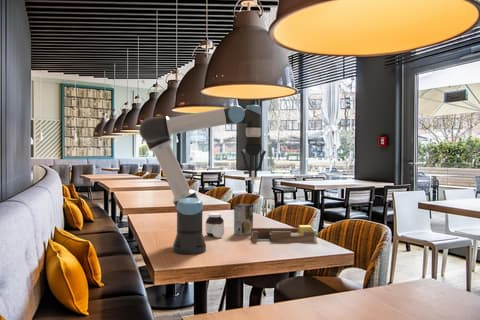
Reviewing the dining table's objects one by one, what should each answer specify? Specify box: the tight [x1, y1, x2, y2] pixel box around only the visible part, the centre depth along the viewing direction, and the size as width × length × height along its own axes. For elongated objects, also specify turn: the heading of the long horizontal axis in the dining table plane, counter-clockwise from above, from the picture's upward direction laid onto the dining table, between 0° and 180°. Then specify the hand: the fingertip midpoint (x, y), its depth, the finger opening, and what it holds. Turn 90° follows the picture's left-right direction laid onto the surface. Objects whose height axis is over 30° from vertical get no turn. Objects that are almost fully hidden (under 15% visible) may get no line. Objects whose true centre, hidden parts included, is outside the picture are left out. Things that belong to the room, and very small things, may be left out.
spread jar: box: [205, 212, 225, 239], centre depth 219 cm, size 12×11×12 cm
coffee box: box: [233, 203, 254, 236], centre depth 226 cm, size 9×6×16 cm
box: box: [250, 226, 318, 243], centre depth 212 cm, size 10×33×6 cm, turn 93°
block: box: [298, 224, 313, 235], centre depth 213 cm, size 5×6×4 cm
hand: (252, 184), depth 203 cm, fingers closed
